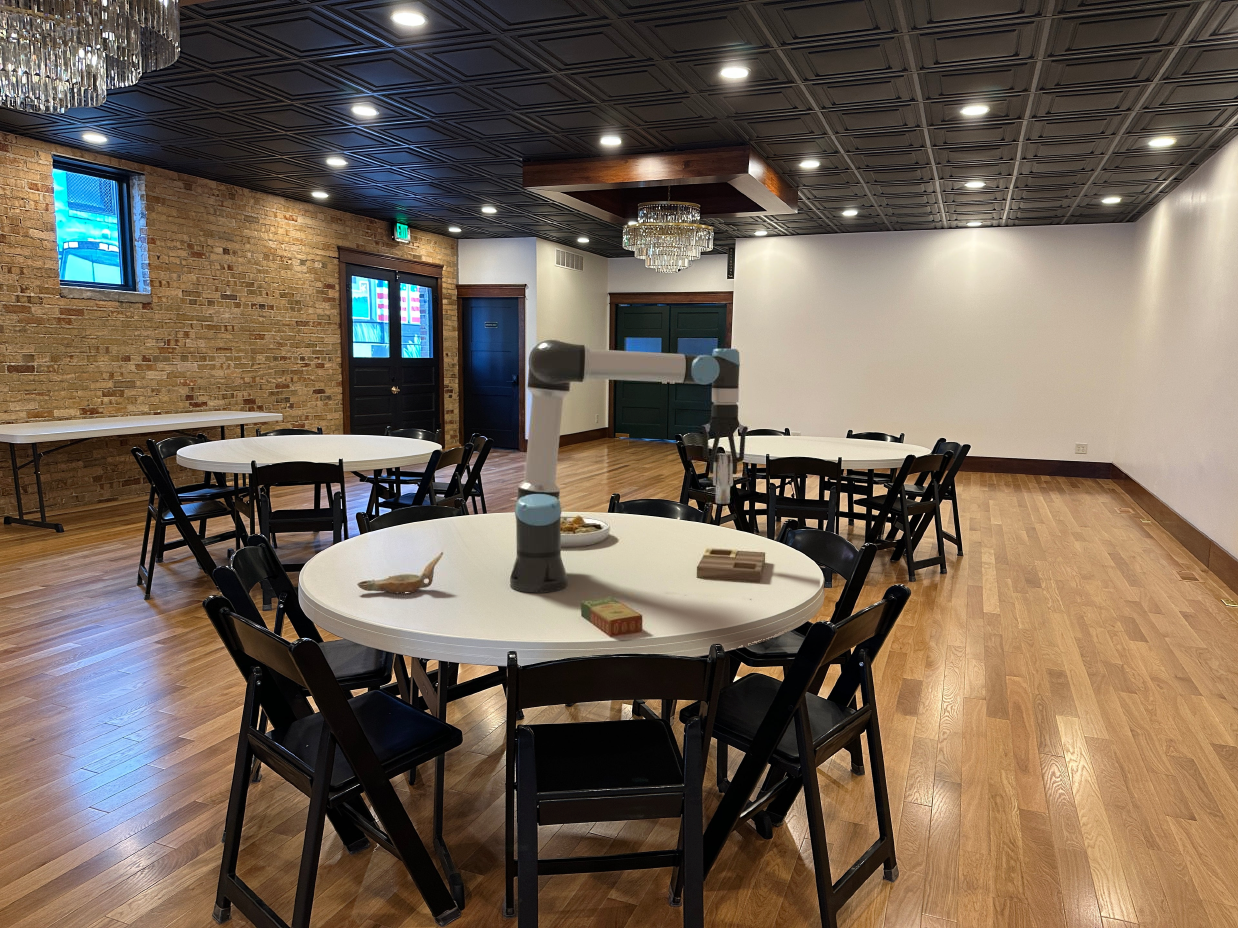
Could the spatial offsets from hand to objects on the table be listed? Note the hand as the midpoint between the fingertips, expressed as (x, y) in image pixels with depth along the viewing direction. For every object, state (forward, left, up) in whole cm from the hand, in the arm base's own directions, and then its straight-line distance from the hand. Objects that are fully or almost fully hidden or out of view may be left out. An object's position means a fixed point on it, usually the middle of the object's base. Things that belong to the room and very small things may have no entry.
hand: (723, 484), depth 230 cm
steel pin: (0, 0, -5) cm, 5 cm away
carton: (-57, +19, -25) cm, 65 cm away
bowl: (+23, +55, -25) cm, 64 cm away
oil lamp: (-47, +77, -25) cm, 93 cm away
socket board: (-6, -4, -24) cm, 25 cm away
